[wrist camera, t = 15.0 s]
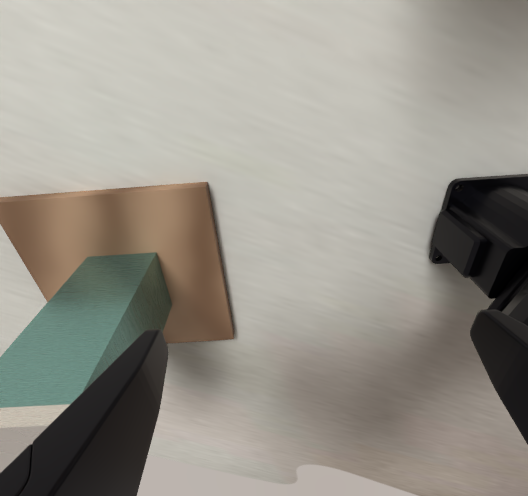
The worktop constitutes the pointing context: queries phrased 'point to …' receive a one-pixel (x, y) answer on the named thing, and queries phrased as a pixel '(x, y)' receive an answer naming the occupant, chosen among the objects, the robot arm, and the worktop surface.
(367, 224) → the worktop surface
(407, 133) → the worktop surface
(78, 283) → the tea tin
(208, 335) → the walnut board
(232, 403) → the worktop surface
